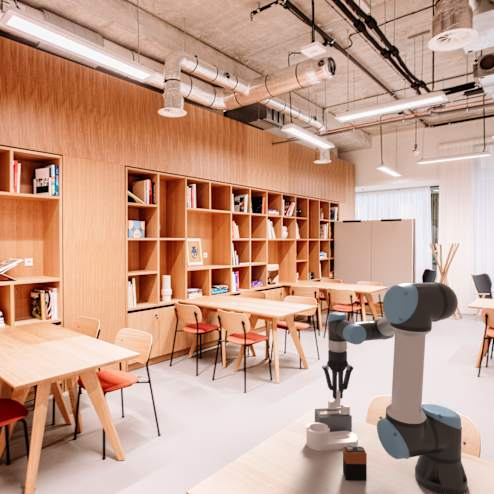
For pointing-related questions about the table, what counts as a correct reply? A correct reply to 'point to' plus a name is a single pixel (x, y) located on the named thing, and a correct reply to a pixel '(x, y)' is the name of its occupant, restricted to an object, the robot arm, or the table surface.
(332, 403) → the rear tab
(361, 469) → the battery
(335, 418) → the switch box
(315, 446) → the bracket
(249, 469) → the table surface
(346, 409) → the front tab
